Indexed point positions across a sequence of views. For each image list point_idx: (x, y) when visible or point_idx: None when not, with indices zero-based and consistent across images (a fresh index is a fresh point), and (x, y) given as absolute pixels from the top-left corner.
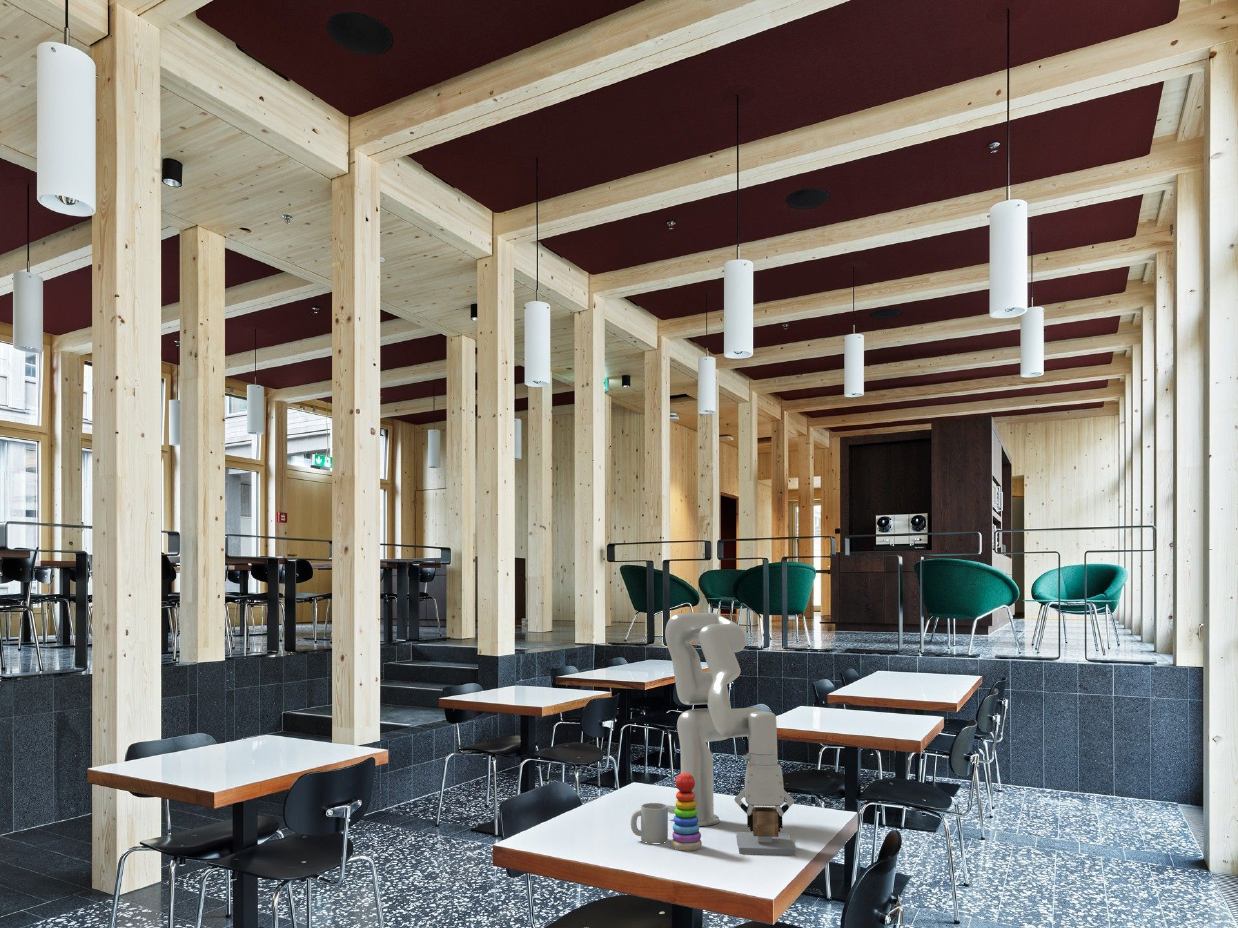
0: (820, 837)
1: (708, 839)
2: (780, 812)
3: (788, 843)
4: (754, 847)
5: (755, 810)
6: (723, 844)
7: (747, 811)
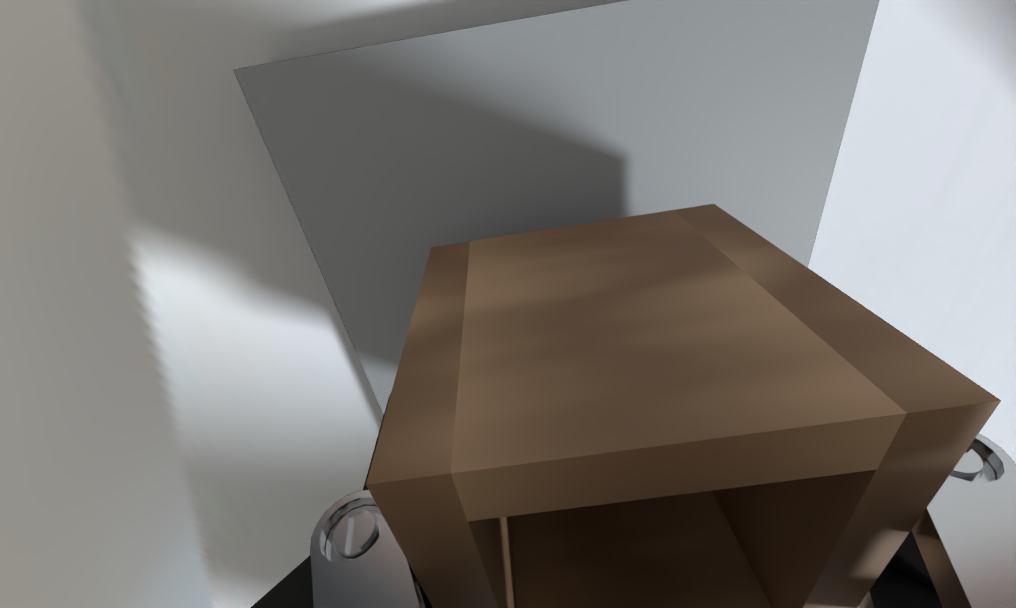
0: (253, 512)
1: (951, 339)
2: (365, 552)
3: (358, 268)
4: (696, 17)
5: (858, 512)
6: (886, 251)
7: (1002, 472)
